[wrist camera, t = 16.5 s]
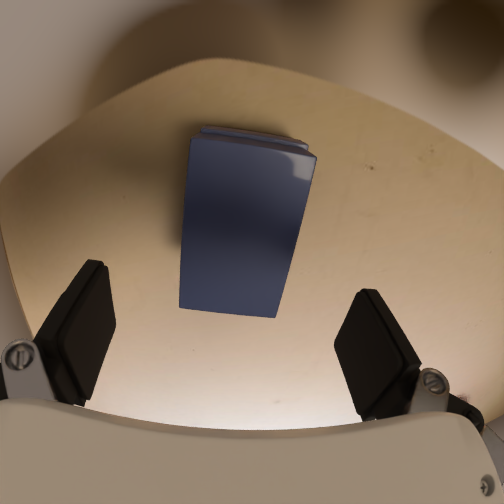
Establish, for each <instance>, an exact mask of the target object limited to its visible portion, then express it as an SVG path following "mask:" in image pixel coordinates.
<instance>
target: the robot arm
mask: <svg viewBox="0 0 504 504" xmlns="http://www.w3.org/2000/svg"><path fill="white" fill-rule="evenodd" d="M115 328H116V319H115V313H114V307H113V301H112V294H111V287H110V279H109V271H108V267H107V266H104V263H103V262H102V261H98V260H90V259H88V260H87V261H86V262H85V264H84V265H83V266H82V268H81V269H80V270H79V272H78V273H77V275H76V276H75V277H74V279H73V280H72V282H71V283H70V285H69V286H68V288H67V289H66V291H65V292H63V294H62V295H61V296H60V298H59V299H58V301H57V302H56V304H55V305H54V307H53V308H52V310H51V311H50V313H49V315H48V316H47V318H46V319H45V321H44V323H43V324H42V326H41V328H40V329H39V331H38V333H37V334H36V336H35V338H34V340H33V341H30V340H28V339H18V340H15V341H12V342H11V343H9V344H8V345H7V346H6V347H5V349H4V350H3V352H2V355H1V363H0V504H504V492H503V489H502V485H503V483H504V441H503V440H502V439H501V438H500V437H499V436H498V435H497V434H496V433H495V432H494V431H493V430H492V429H490V428H489V427H488V426H487V425H486V426H485V427H484V419H483V416H482V414H481V412H480V411H479V410H478V409H477V408H475V407H474V406H472V405H470V404H468V403H466V402H465V401H463V400H461V399H459V398H457V397H456V396H454V395H452V394H450V393H449V390H450V388H449V383H448V380H447V379H446V377H445V376H444V375H443V374H442V373H441V372H440V371H438V370H436V369H433V368H425V369H423V370H422V371H420V369H419V367H420V366H421V364H422V363H421V361H420V359H419V358H418V356H417V354H416V352H415V351H414V349H413V347H412V345H411V344H410V342H409V340H408V339H407V337H406V335H405V334H404V332H403V330H402V329H401V327H400V325H399V324H398V322H397V321H396V319H395V317H394V316H393V314H392V313H391V311H390V309H389V308H388V306H387V305H386V303H385V302H384V300H383V298H382V297H381V295H380V294H379V292H378V291H377V290H376V289H362V290H360V292H357V293H356V295H355V298H354V300H353V302H352V304H351V307H350V309H349V311H348V313H347V316H346V318H345V320H344V322H343V324H342V326H341V328H340V330H339V333H338V335H337V337H336V339H335V342H334V348H335V351H336V354H337V357H338V360H339V363H340V365H341V368H342V371H343V374H344V377H345V380H346V382H347V385H348V388H349V391H350V394H351V397H352V400H353V403H354V406H355V409H356V412H357V414H358V415H361V418H362V421H363V422H361V423H354V424H347V425H338V426H329V427H319V428H306V429H288V430H227V429H210V428H197V427H187V426H178V425H169V424H162V423H155V422H149V421H143V420H137V419H132V418H127V417H121V416H116V415H111V414H107V413H102V412H98V411H94V410H90V409H86V408H82V407H84V406H85V402H86V400H90V399H91V397H92V394H93V390H94V387H95V384H96V381H97V378H98V375H99V372H100V369H101V367H102V364H103V361H104V358H105V355H106V353H107V350H108V347H109V344H110V342H111V339H112V337H113V334H114V331H115ZM73 404H75V405H79V406H82V407H78V406H73ZM375 419H376V420H375ZM372 420H373V421H372ZM366 421H367V422H366Z"/></svg>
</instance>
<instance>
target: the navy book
mask: <svg viewBox="0 0 504 504" xmlns="http://www.w3.org/2000/svg"><path fill="white" fill-rule="evenodd" d="M316 161H317V157H316V156H314V155H313V154H312V153H310V152H309V151H307V150H306V149H303V148H299V147H294V146H288V145H283V144H278V143H272V142H266V141H260V140H254V139H247V138H240V137H233V136H226V135H217V134H209V133H197V134H196V135H194V136H193V137H192V138H191V140H190V149H189V157H188V167H187V176H186V187H185V198H184V211H183V225H182V241H181V260H180V288H179V307H180V308H184V309H192V310H200V311H208V312H217V313H226V314H236V315H246V316H257V317H268V318H275V317H276V314H277V311H278V307H279V304H280V300H281V297H282V293H283V290H284V286H285V283H286V279H287V275H288V272H289V268H290V264H291V261H292V257H293V253H294V250H295V246H296V242H297V238H298V234H299V230H300V226H301V223H302V219H303V215H304V211H305V207H306V203H307V199H308V194H309V190H310V186H311V182H312V178H313V173H314V169H315V165H316Z"/></svg>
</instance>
